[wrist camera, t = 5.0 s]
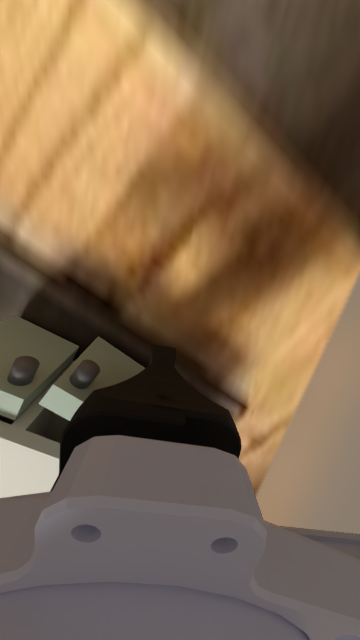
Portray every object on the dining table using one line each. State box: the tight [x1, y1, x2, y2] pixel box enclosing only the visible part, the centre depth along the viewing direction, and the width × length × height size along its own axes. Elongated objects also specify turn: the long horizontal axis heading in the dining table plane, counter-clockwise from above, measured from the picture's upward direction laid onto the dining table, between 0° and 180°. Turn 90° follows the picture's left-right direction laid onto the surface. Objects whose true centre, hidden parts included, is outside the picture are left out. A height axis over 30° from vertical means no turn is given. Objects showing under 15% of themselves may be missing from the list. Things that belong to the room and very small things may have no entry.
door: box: [39, 336, 145, 421], centre depth 11 cm, size 2×9×5 cm, turn 50°
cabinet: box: [0, 316, 79, 498], centre depth 12 cm, size 11×14×6 cm
